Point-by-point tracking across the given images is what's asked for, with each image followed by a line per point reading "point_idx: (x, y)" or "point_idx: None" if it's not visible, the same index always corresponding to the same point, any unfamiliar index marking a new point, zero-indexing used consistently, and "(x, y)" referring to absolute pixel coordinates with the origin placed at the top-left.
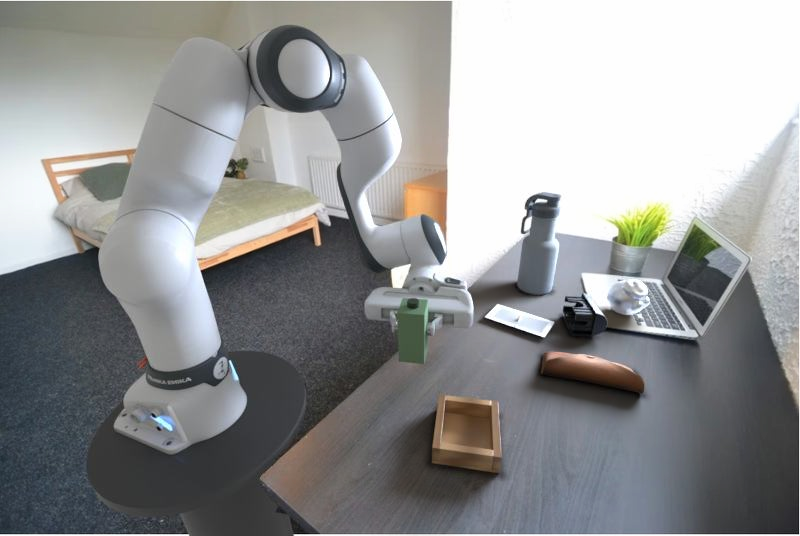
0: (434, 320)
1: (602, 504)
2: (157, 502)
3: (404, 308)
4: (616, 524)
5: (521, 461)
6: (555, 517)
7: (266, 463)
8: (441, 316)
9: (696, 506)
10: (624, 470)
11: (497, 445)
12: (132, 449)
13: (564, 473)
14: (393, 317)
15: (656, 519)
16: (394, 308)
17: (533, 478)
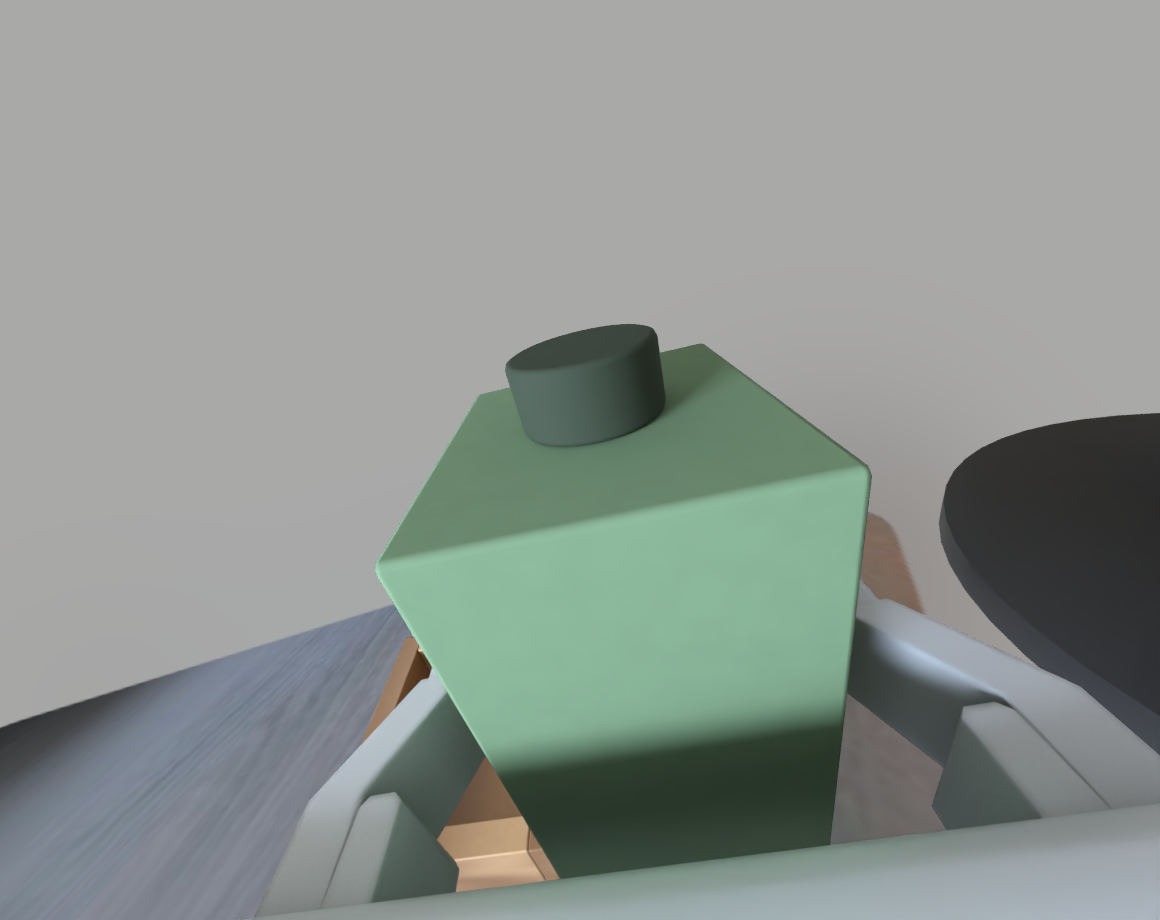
0: (424, 713)
1: (262, 674)
2: (1014, 440)
3: (671, 376)
4: (271, 647)
5: (360, 721)
6: (363, 626)
7: (950, 542)
8: (306, 824)
9: (89, 725)
10: (129, 775)
11: (401, 665)
12: None
13: (280, 720)
14: (909, 619)
15: (194, 676)
16: (1153, 805)
17: (358, 685)
